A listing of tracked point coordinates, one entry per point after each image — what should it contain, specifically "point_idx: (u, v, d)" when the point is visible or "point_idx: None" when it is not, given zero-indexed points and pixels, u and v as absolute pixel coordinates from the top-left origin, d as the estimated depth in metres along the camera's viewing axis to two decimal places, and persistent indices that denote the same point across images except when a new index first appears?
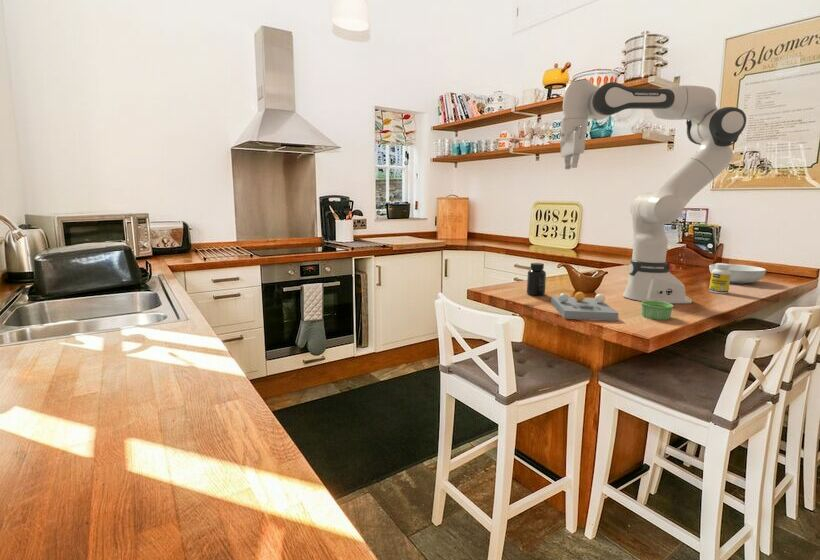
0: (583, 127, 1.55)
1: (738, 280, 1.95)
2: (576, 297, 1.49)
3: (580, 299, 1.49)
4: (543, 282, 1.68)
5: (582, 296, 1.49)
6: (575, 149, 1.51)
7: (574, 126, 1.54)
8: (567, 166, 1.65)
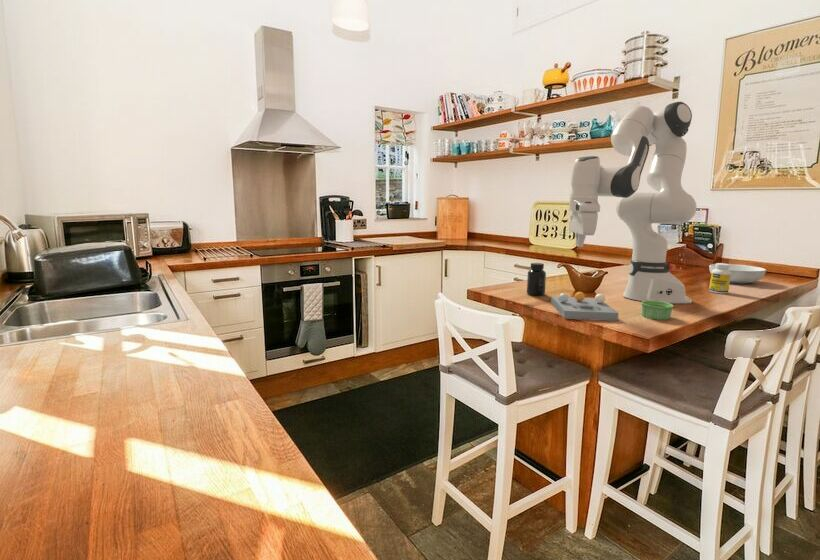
0: None
1: (738, 280, 1.95)
2: (576, 297, 1.49)
3: (580, 299, 1.49)
4: (543, 282, 1.68)
5: (582, 296, 1.49)
6: None
7: None
8: None
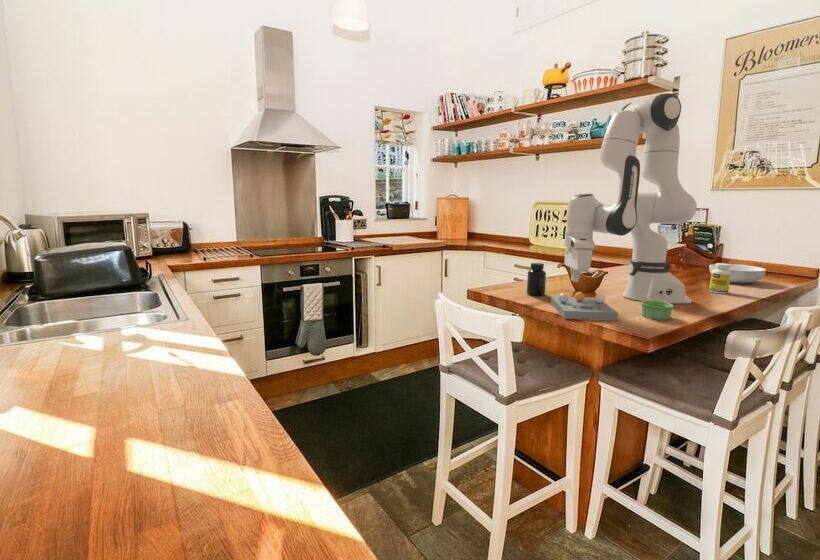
0: None
1: (738, 280, 1.95)
2: (576, 297, 1.49)
3: (580, 299, 1.49)
4: (543, 282, 1.68)
5: (582, 296, 1.49)
6: None
7: None
8: None
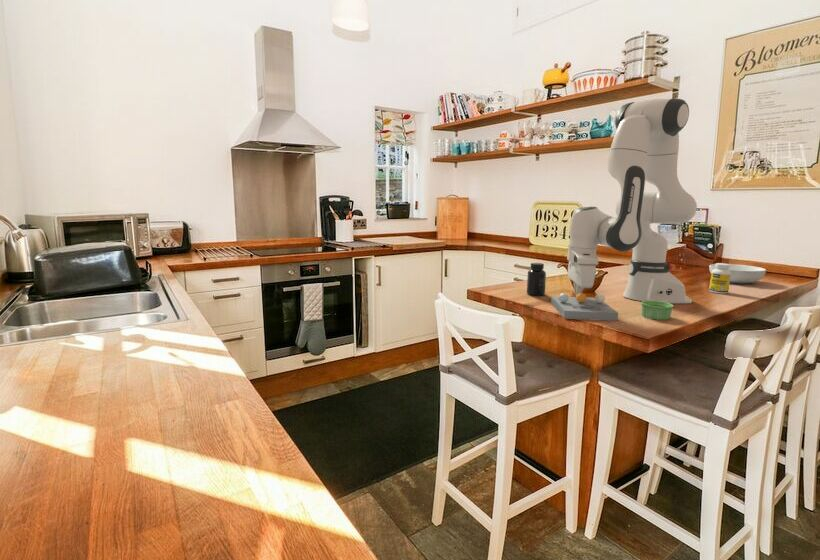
0: None
1: (738, 280, 1.95)
2: (577, 300, 1.48)
3: None
4: (543, 282, 1.68)
5: None
6: None
7: None
8: None
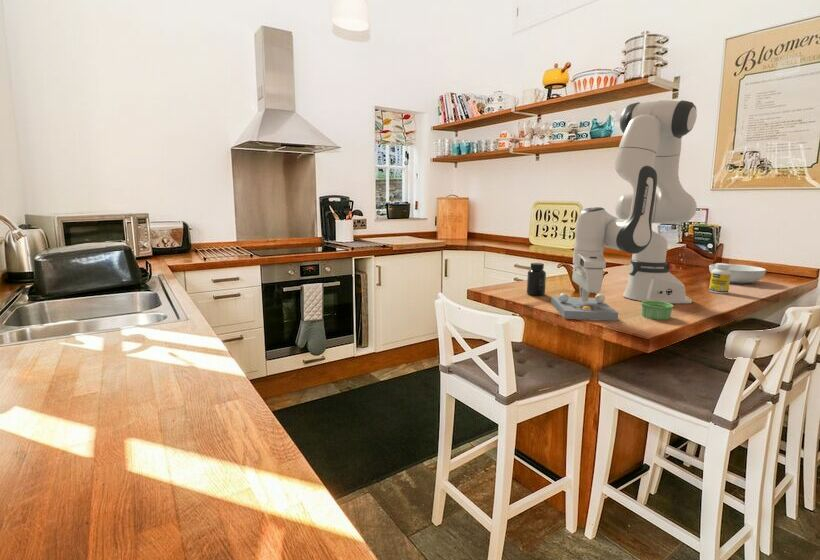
0: None
1: (738, 280, 1.95)
2: None
3: None
4: (543, 282, 1.68)
5: None
6: None
7: None
8: None
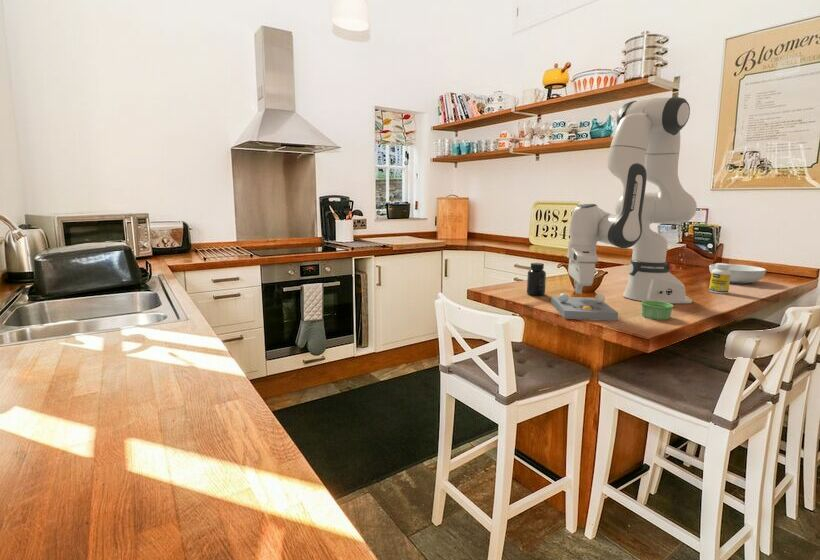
0: None
1: (738, 280, 1.95)
2: None
3: None
4: (543, 282, 1.68)
5: None
6: None
7: None
8: None
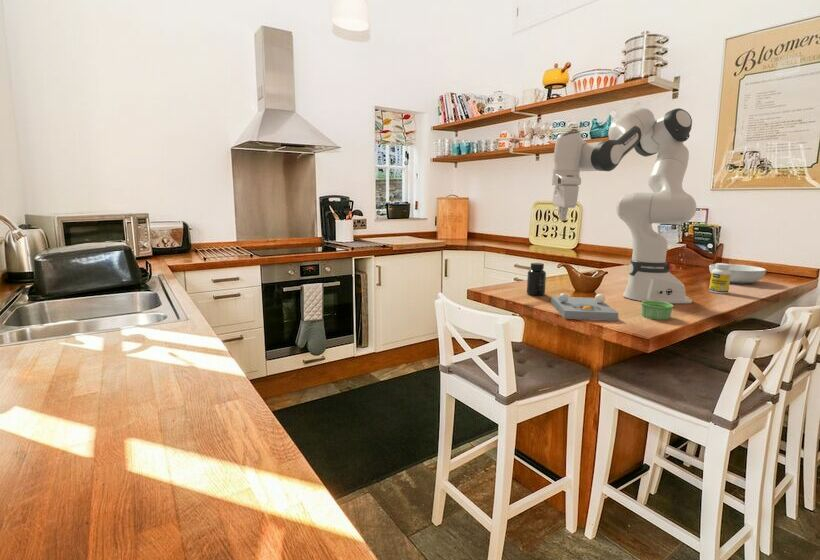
0: None
1: (738, 280, 1.95)
2: None
3: None
4: (543, 282, 1.68)
5: None
6: None
7: None
8: None
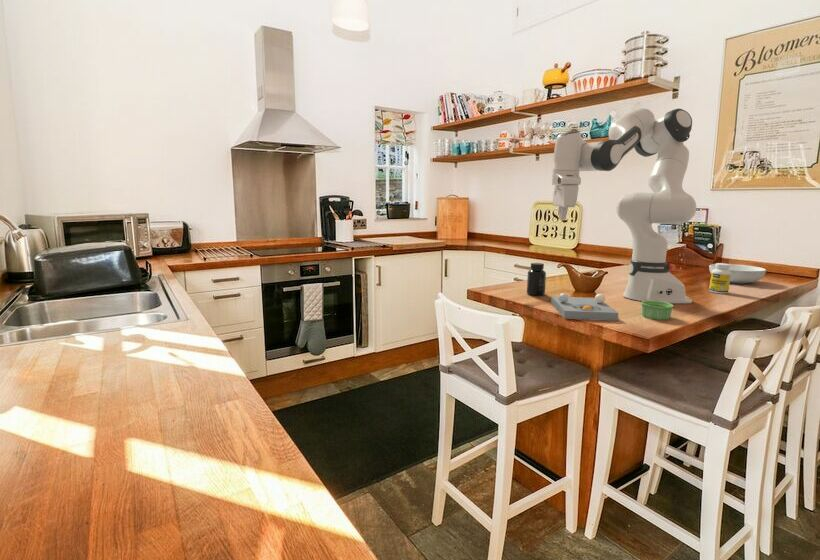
0: None
1: (738, 280, 1.95)
2: None
3: None
4: (543, 282, 1.68)
5: None
6: None
7: None
8: None
